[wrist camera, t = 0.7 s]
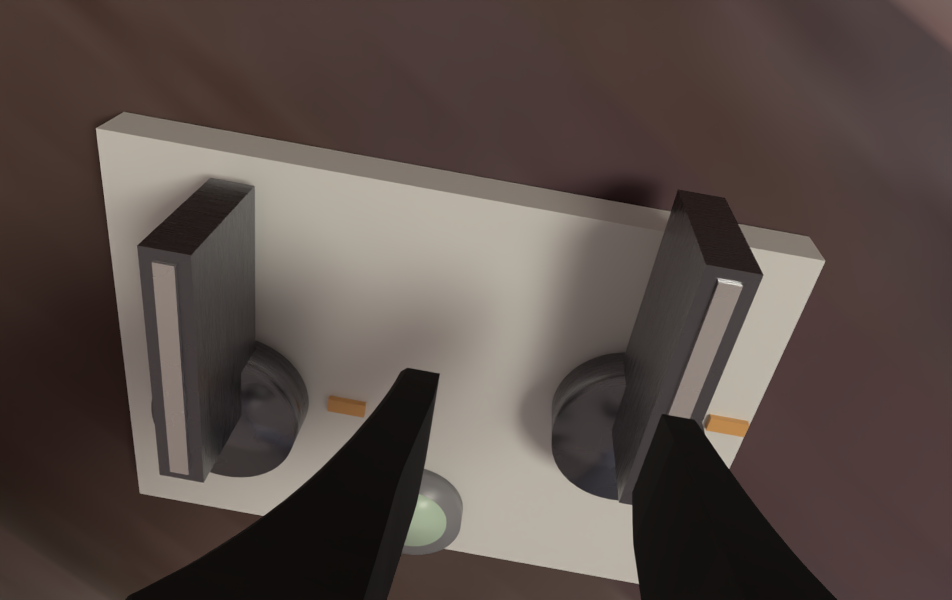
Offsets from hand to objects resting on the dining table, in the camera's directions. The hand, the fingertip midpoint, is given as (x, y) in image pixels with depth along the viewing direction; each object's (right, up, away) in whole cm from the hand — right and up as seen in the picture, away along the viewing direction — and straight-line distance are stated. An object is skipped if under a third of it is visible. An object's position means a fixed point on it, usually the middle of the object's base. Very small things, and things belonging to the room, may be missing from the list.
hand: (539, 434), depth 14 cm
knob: (+4, +1, +8) cm, 9 cm away
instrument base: (-3, 0, +11) cm, 11 cm away
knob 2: (-8, +2, +9) cm, 12 cm away
